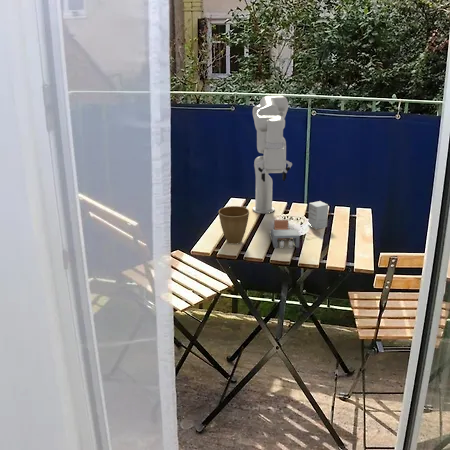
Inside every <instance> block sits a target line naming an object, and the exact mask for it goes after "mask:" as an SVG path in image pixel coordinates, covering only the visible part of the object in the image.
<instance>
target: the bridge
mask: <svg viewBox="0 0 450 450" xmlns="http://www.w3.org/2000/svg"><path fill="white" fill-rule="evenodd" d="M270 235H271V236H270ZM269 236H270V240H271V242H272V247H273V248H274V249H277V248H278V240H277V238H291V240H288V248H290V247H292V248H293V247H294V246H295V247H294V248H300V232H299V230H298V229H294V228H291V229H289V230H274V228H273V229H269ZM292 238H293V239H292ZM280 247H281V248H282V247H283V248H284V247H285V240H279V248H280Z"/></svg>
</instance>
